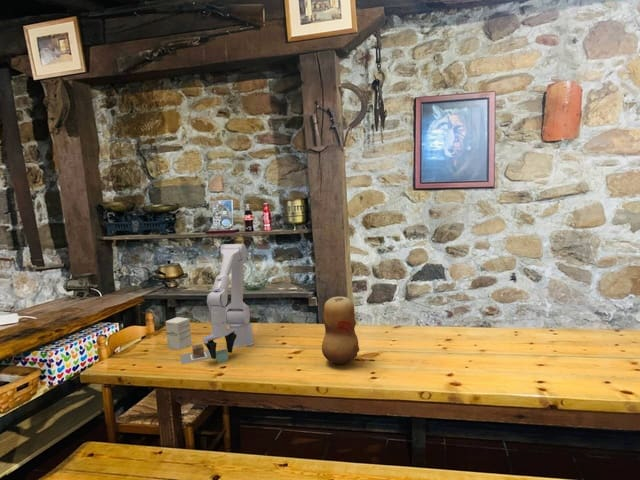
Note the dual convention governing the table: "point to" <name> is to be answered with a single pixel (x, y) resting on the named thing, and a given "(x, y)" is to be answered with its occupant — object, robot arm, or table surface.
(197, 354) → the walnut block
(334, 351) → the butternut squash
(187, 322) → the supplement box
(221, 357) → the teal block
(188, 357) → the slate board
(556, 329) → the table surface
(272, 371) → the table surface
